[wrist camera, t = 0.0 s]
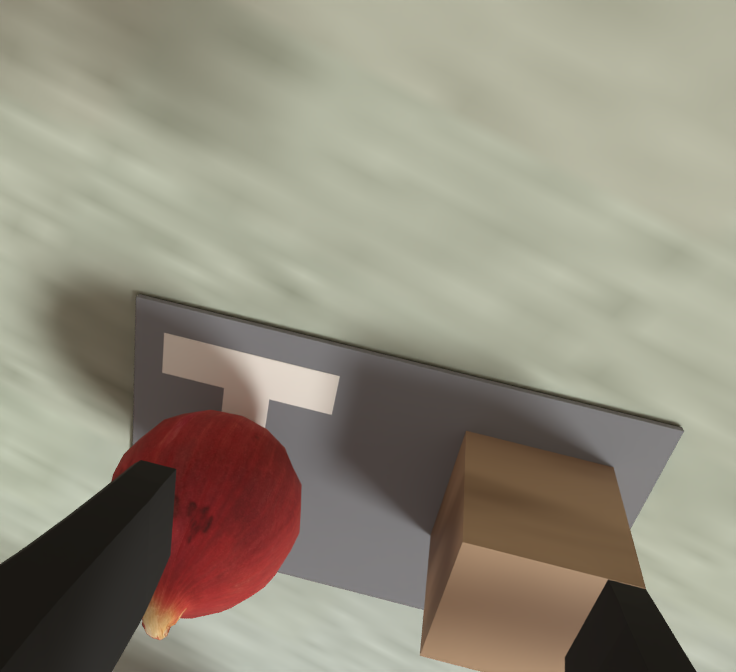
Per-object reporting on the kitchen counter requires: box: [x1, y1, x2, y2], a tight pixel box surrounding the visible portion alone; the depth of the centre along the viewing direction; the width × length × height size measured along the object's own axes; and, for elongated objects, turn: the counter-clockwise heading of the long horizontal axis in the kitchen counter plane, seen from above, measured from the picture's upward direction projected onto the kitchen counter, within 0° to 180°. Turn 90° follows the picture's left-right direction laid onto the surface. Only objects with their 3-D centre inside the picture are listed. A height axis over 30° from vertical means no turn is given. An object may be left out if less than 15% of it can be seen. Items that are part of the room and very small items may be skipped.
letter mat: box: [133, 294, 684, 610], centre depth 24 cm, size 11×18×1 cm, turn 79°
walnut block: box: [420, 431, 646, 672], centre depth 21 cm, size 5×5×5 cm
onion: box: [111, 410, 302, 640], centre depth 20 cm, size 6×6×8 cm
